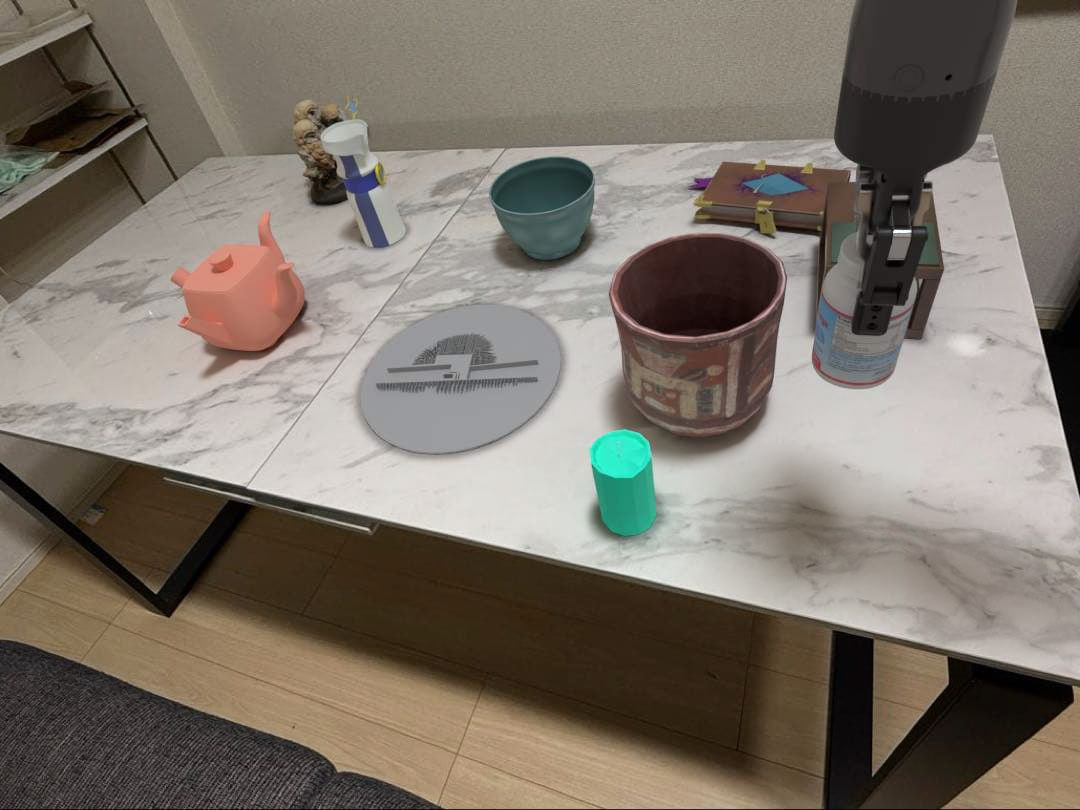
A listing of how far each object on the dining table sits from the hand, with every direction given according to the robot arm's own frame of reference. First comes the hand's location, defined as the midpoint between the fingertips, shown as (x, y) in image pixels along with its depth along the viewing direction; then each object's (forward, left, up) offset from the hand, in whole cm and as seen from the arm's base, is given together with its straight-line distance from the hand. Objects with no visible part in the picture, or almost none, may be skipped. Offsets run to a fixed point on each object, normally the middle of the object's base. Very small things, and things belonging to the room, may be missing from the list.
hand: (866, 300), depth 48 cm
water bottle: (+73, -46, -27) cm, 91 cm away
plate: (+46, -14, -27) cm, 55 cm away
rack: (-5, -35, -27) cm, 45 cm away
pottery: (+14, -13, -27) cm, 34 cm away
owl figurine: (+91, -63, -27) cm, 114 cm away
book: (+10, -55, -27) cm, 63 cm away
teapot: (+83, -21, -27) cm, 90 cm away
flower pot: (+41, -44, -27) cm, 66 cm away
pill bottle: (0, 0, -7) cm, 7 cm away
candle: (+19, +4, -27) cm, 34 cm away
